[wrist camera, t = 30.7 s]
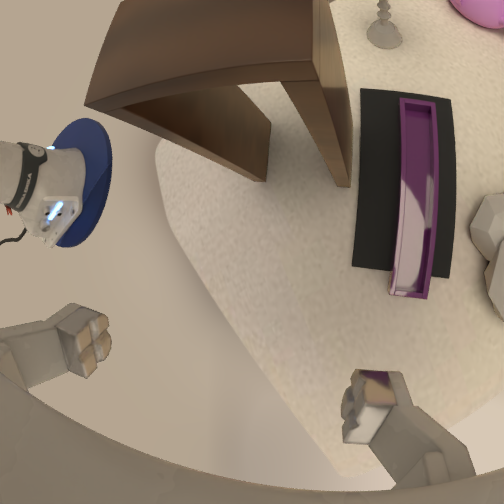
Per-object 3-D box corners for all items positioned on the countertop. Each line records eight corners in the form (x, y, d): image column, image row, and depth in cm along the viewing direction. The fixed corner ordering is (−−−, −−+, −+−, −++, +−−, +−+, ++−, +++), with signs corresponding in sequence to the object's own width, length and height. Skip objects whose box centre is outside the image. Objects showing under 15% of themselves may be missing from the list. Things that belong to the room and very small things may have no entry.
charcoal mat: (447, 277, 29) (449, 278, 28) (351, 265, 33) (351, 266, 32) (449, 101, 27) (450, 99, 27) (360, 89, 31) (360, 88, 31)
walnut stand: (350, 187, 33) (312, 60, 8) (253, 181, 37) (83, 105, 13) (352, 124, 32) (311, -53, 8) (259, 122, 36) (120, 2, 12)
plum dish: (422, 295, 30) (427, 299, 27) (387, 290, 31) (389, 294, 29) (431, 111, 28) (435, 102, 25) (397, 106, 29) (399, 97, 27)
